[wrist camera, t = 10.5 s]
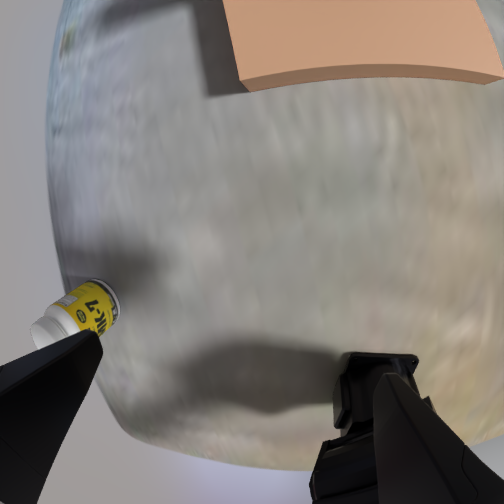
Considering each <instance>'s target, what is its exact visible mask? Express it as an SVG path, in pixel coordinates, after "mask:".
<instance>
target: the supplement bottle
mask: <svg viewBox="0 0 504 504" xmlns="http://www.w3.org/2000/svg"><path fill="white" fill-rule="evenodd" d="M119 315H120V305H119V301H118V299H117V297H116V295H115V293H114V292H113V290H112V289H111V288H110V287H109V286H108V285H107V284H106V283H104V282H103V281H101V280H97V279H92V280H89V281H87V282H85V283H84V284H82V285H81V286H79V287H78V288H76V289H74V290H73V291H71V292H70V293H68V294H67V295H65V296H64V297H62V298H61V299H59V300H58V301H56V302H55V303H53V304H52V305H50V306H49V307H48V308H47V309H46V311H45V313H44V316H43V317H41V318H40V319H39V320H37V321H36V322H35V323H34V324H32V326H31V336H32V339H33V341H34V343H35V345H36V347H37V349H38V350H39V349H41V348H43V347H45V346H48V345H50V344H52V343H55V342H57V341H59V340H61V339H64V338H66V337H68V336H71V335H73V334H75V333H77V332H80V331H82V330H84V329H89V330H93V331H95V332H97V334H98V336H99V337H100V336H101V335H102V334H103V333H104V332H105V331H106V330H107V329H108V328H110V327H111V326H112V325H113V324H114V323H115V322H116V321H117V319H118V318H119Z"/></svg>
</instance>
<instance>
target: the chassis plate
mask: <svg viewBox="0 0 504 504" xmlns="http://www.w3.org/2000/svg"><path fill="white" fill-rule="evenodd" d="M223 4H224V8H225V13H226V17H227V22H228V26H229V31H230V36H231V40H232V45H233V50H234V54H235V59H236V64H237V69H238V74H239V79H240V81H241V82H242V84H243V85H244V86H245V87H246V88H247V89H248V90H249V91H250V92H254V91H258V90H264V89H269V88H274V87H280V86H286V85H293V84H300V83H307V82H315V81H324V80H335V79H348V78H367V77H415V78H433V79H445V80H455V81H463V82H471V83H477V84H484V85H485V84H488V83H491V82H494V81H498V80H501V79H504V70H503V67H502V64H501V61H500V58H499V55H498V52H497V49H496V46H495V44H494V41H493V38H492V36H491V33H490V31H489V29H488V26H487V24H486V22H485V19H484V17H483V15H482V13H481V11H480V9H479V7H478V5H477V3H476V1H475V0H223Z"/></svg>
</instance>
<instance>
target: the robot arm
mask: <svg viewBox="0 0 504 504" xmlns="http://www.w3.org/2000/svg"><path fill="white" fill-rule="evenodd" d="M102 356H103V348H102V345H101V342H100V339H99V336H98V334H97V332H95V331H93V330H89V329H84V330H82V331H80V332H77V333H75V334H73V335H71V336H68V337H66V338H64V339H61V340H59V341H57V342H55V343H52V344H50V345H48V346H45V347H43V348H41V349H39V350H37V351H34V352H32V353H30V354H28V355H25V356H23V357H20V358H18V359H16V360H13V361H11V362H9V363H7V364H5V365H2V366H0V504H37V501H38V499H39V496H40V494H41V491H42V489H43V486H44V484H45V481H46V478H47V476H48V474H49V471H50V469H51V467H52V464H53V462H54V460H55V457H56V455H57V453H58V451H59V449H60V447H61V444H62V442H63V440H64V438H65V436H66V434H67V432H68V430H69V428H70V425H71V424H72V422H73V419H74V417H75V415H76V413H77V411H78V410H79V408H80V406H81V404H82V402H83V400H84V398H85V396H86V394H87V392H88V390H89V387H90V385H91V382H92V380H93V378H94V375H95V373H96V370H97V368H98V366H99V363H100V361H101V359H102ZM354 358H357V359H356V360H353V359H354ZM414 360H415V361H414ZM412 361H414V362H412ZM418 363H419V359H418V357H417V356H415V355H383V354H364V353H353V354H351V355H350V356H349V359H348V362H347V365H346V368H345V371H344V373H343V374H341V375H340V376H339V378H338V381H337V384H336V387H335V389H334V392H333V413H334V427H335V428H336V429H340V433H341V437H339V438H336V439H333V440H327V441H324V442H323V443H322V446H321V449H320V452H319V455H318V458H317V461H316V464H315V467H314V470H313V472H312V476H311V479H310V482H309V487H310V493H311V497H312V500H313V502H312V504H504V480H503V479H502V478H501V477H499V476H498V475H497V474H496V473H495V472H493V471H492V470H491V469H490V468H489V467H488V466H487V465H485V464H484V463H483V462H482V461H481V460H480V459H479V458H478V457H477V456H476V455H475V454H474V453H473V452H472V451H471V450H470V448H469V447H468V446H467V445H464V442H463V441H462V440H461V439H460V438H459V437H458V436H457V435H456V434H455V433H454V432H453V431H452V430H451V429H450V428H449V426H448V425H447V424H446V423H445V422H444V421H443V420H442V419H441V418H440V417H439V416H438V415H437V413H436V411H435V408H434V406H433V404H432V402H431V399H430V397H429V396H428V397H426V398H424V399H422V398H421V397H420V394H419V391H418V388H417V385H416V382H415V379H414V377H413V373H414V371H415V369H416V367H417V365H418Z"/></svg>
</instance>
